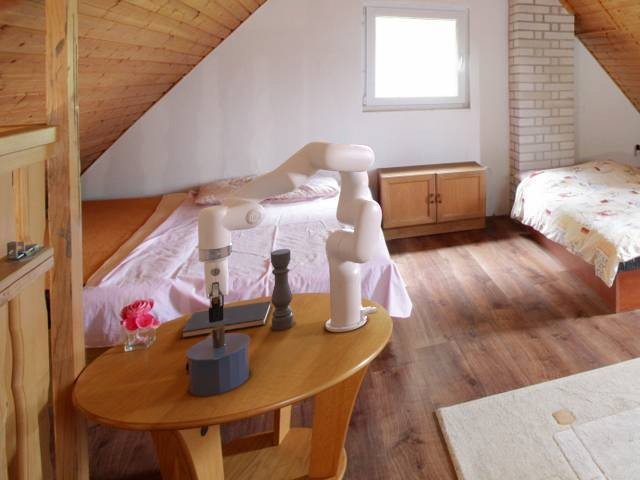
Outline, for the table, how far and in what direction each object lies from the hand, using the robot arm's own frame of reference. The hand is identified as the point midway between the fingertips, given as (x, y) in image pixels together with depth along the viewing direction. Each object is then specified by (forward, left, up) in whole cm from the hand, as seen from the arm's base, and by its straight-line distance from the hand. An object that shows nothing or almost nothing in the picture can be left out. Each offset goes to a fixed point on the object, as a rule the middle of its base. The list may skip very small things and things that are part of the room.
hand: (216, 314), depth 157 cm
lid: (0, 0, -9) cm, 9 cm away
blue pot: (0, 0, -19) cm, 19 cm away
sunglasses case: (+2, -18, -19) cm, 26 cm away
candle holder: (-17, -28, -19) cm, 38 cm away
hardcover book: (-2, -42, -19) cm, 46 cm away
